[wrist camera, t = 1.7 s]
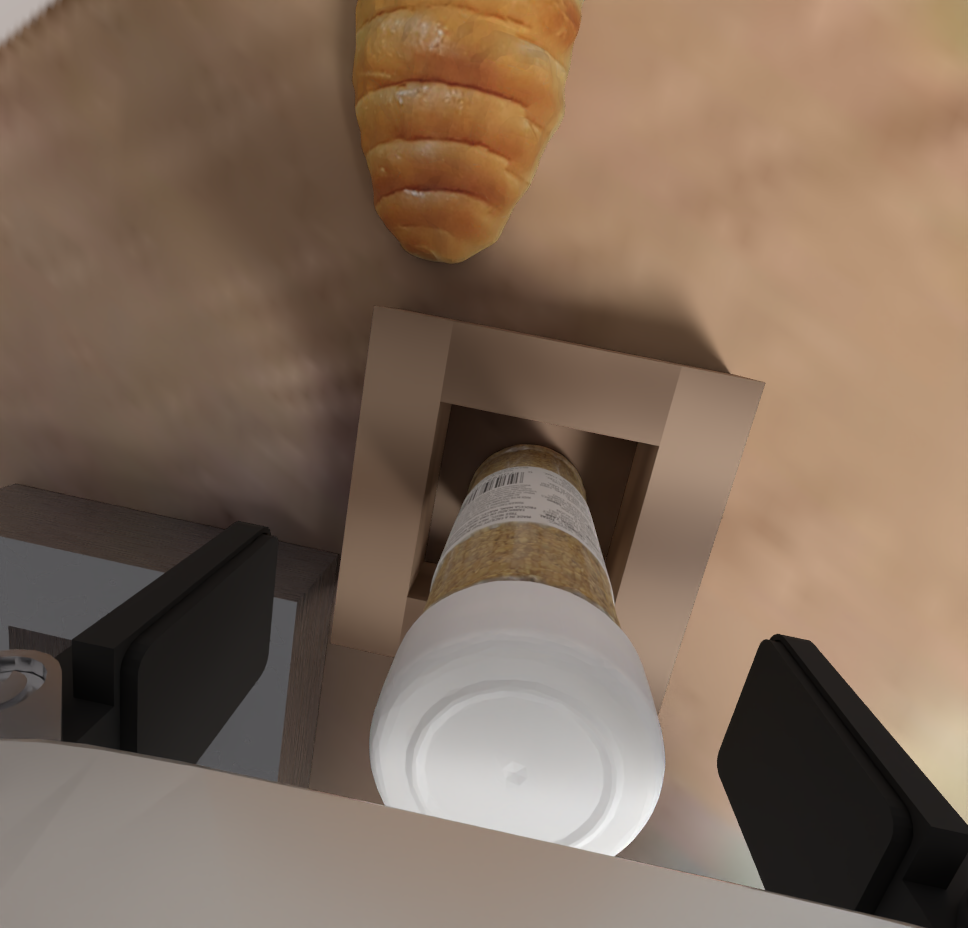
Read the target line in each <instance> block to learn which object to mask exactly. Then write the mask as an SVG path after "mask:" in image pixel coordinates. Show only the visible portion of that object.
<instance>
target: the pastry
mask: <svg viewBox="0 0 968 928" xmlns="http://www.w3.org/2000/svg"><path fill="white" fill-rule="evenodd" d="M583 3H584V0H358V2H357V5H356V51H355V57H354V66H353V76H352V82H353V86H354V89H355V112H356V117H357V121H358V124H359V128H360V132H361V147H362V150H363V153H364V155H365V157H366V160H367V165H368V168H369V171H370V174H371V178H372V185H373V191H374V206H375V209H376V212H377V214H378V215H379V216H380V218H381V219H382V221H383V222H384V224H385V226H386V227H387V228H388V229H389V230H390V232H391V233H392V234H393V235H394V236H395V237H396V238H397V239H398V241H399V242H400V244H401V246H402V248H403V249H404V250H406V251H407V252H408V253H410V254H411V255H413V256H415V257H419V258H422V259H425V260H428V261H434V262H444V263H449V264H453V263H460V262H462V261H464V260H466V259H468V258H470V257H472V256H473V255H475V254H476V253H478V252H480V251H482V250H483V249H485V248H487V247H489V246H491V245H492V244H494V243H495V242H497V240H498V239H499V237H500V235H501V233H502V231H503V229H504V227H505V225H506V223H507V221H508V218H509V217H510V215H511V213H512V211H513V208H514V206H515V205H516V204H517V202H518V201H519V200H520V199H521V197H522V196H523V195H524V194H525V192H526V191H527V190H528V189H529V187H530V185H531V182H532V180H533V178H534V176H535V173H536V171H537V168H538V165H539V161H540V158H541V156H542V154H543V152H544V150H545V148H546V146H547V144H548V142H549V141H550V139H551V138H552V136H553V135H554V133H555V132H556V131H557V129H558V128H559V126H560V124H561V122H562V120H563V117H564V113H565V94H564V87H565V82H566V79H567V76H568V72H569V69H570V64H571V57H572V49H573V45H574V41H575V38H576V36H577V34H578V31H579V27H580V22H581V8H582V5H583Z"/></svg>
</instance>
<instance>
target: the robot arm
mask: <svg viewBox="0 0 968 928" xmlns="http://www.w3.org/2000/svg"><path fill="white" fill-rule="evenodd" d="M277 554H278V538H277V537H275V536H271V532H270V529H269V528H268V527H264V526H259V525H254V524H250V523H245V522H240V521H238V522H236V523H234V524H233V525H231V526H230V527H228V528H227V529H226V530H224V531H223V532H221V533H220V534H219V535H217V536H216V537H214V538H213V539H212V540H210V541H209V542H207V543H206V544H205V545H203V546H202V547H200V548H199V549H198V550H196V551H195V552H193V553H192V554H191V555H189V556H188V557H186V558H185V559H184V560H182V561H181V562H179V563H178V564H177V565H175V566H174V567H172V568H171V569H170V570H168V571H167V572H165V573H164V574H163V575H161V576H160V577H158V578H157V579H156V580H154V581H153V582H151V583H150V584H149V585H147V586H146V587H145V588H143V589H142V590H140V591H139V592H138V593H136V594H135V595H133V596H132V597H131V598H129V599H128V600H126V601H125V602H124V603H122V604H121V605H119V606H118V607H117V608H115V609H114V610H112V611H111V612H110V613H108V614H107V615H105V616H104V617H103V618H101V619H100V620H98V621H97V622H96V623H94V624H93V625H91V626H90V627H89V628H87V629H86V630H84V631H83V632H82V633H80V634H79V635H77V636H76V637H75V638H73V639H72V645H71V646H70V647H68V648H67V649H65V650H64V651H63V652H61V653H60V654H59V655H57V656H56V657H52V656H51V655H50V654H47V653H43V652H40V651H36V650H24V649H13V650H3V651H0V928H968V825H967V824H966V823H965V821H964V820H963V819H962V818H961V817H960V816H959V814H958V813H957V812H956V811H955V810H954V808H953V807H952V806H951V805H950V804H949V803H948V801H947V800H946V799H945V798H944V797H943V796H942V794H941V793H940V792H939V791H938V790H937V788H936V787H935V786H934V785H933V784H932V783H931V781H930V780H929V779H928V778H927V777H926V776H925V774H924V773H923V772H922V771H921V770H920V768H919V767H918V766H917V765H916V764H915V763H914V761H913V760H912V759H911V758H910V757H909V756H908V754H907V753H906V752H905V751H904V750H903V748H902V747H901V746H900V745H899V744H898V743H897V741H896V740H895V739H894V738H893V737H892V736H891V734H890V733H889V732H888V731H887V730H886V728H885V727H884V726H883V725H882V724H881V723H880V721H879V720H878V719H877V718H876V717H875V716H874V714H873V713H872V712H871V711H870V710H869V708H868V707H867V706H866V705H865V704H864V703H863V701H862V700H861V699H860V698H859V697H858V696H857V694H856V693H855V692H854V691H853V690H852V688H851V687H850V686H849V685H848V684H847V683H846V681H845V680H844V679H843V678H842V677H841V676H840V674H839V673H838V672H837V671H836V670H835V668H834V667H833V666H832V665H831V664H830V663H829V661H828V660H827V659H826V658H825V657H824V656H823V654H822V653H821V652H820V651H819V650H818V648H817V647H816V646H815V645H814V644H813V643H812V642H811V641H809V640H804V639H800V638H795V637H790V636H785V635H780V634H776V635H773V636H772V637H771V638H770V640H767V639H766V640H763V641H762V642H761V643H760V645H759V648H758V650H757V653H756V655H755V658H754V661H753V663H752V666H751V669H750V671H749V674H748V676H747V679H746V682H745V684H744V687H743V690H742V692H741V695H740V697H739V700H738V703H737V705H736V708H735V711H734V713H733V716H732V718H731V721H730V724H729V726H728V729H727V732H726V734H725V737H724V739H723V742H722V745H721V747H720V750H719V753H718V758H717V768H718V773H719V777H720V779H721V782H722V784H723V786H724V789H725V791H726V794H727V796H728V799H729V801H730V804H731V806H732V809H733V811H734V814H735V816H736V819H737V821H738V823H739V826H740V828H741V831H742V833H743V836H744V838H745V841H746V843H747V846H748V848H749V851H750V853H751V856H752V858H753V860H754V863H755V865H756V868H757V870H758V873H759V875H760V878H761V880H762V883H763V885H764V888H765V890H761V889H757V888H753V887H748V886H744V885H739V884H735V883H731V882H726V881H722V880H718V879H713V878H709V877H704V876H700V875H695V874H691V873H686V872H682V871H677V870H673V869H668V868H664V867H659V866H655V865H650V864H646V863H641V862H637V861H632V860H628V859H623V858H619V857H614V856H610V855H605V854H600V853H596V852H591V851H587V850H582V849H578V848H573V847H569V846H564V845H560V844H555V843H551V842H546V841H542V840H537V839H533V838H528V837H524V836H519V835H515V834H510V833H506V832H501V831H497V830H493V829H488V828H484V827H479V826H475V825H470V824H466V823H461V822H457V821H452V820H448V819H443V818H439V817H434V816H430V815H425V814H421V813H416V812H412V811H407V810H403V809H398V808H394V807H389V806H385V805H380V804H376V803H371V802H367V801H362V800H358V799H353V798H349V797H344V796H339V795H335V794H330V793H326V792H321V791H316V790H312V789H307V788H302V787H298V786H293V785H289V784H284V783H279V782H275V781H270V780H265V779H261V778H256V777H252V776H247V775H242V774H238V773H233V772H228V771H224V770H219V769H215V768H210V767H205V766H201V765H196V763H197V762H198V760H199V759H200V758H201V756H202V755H203V754H204V752H205V751H206V750H207V748H208V747H209V746H210V744H211V743H212V741H213V740H214V739H215V737H216V736H217V735H218V733H219V732H220V731H221V729H222V728H223V727H224V725H225V724H226V723H227V721H228V720H229V718H230V717H231V716H232V714H233V713H234V712H235V710H236V709H237V708H238V706H239V705H240V704H241V702H242V701H243V700H244V698H245V697H246V695H247V694H248V693H249V691H250V690H251V689H252V687H253V686H254V685H255V683H256V682H257V681H258V679H259V678H260V677H261V675H262V673H263V671H264V669H265V667H266V664H267V661H268V655H269V645H270V634H271V622H272V611H273V600H274V588H275V577H276V566H277Z"/></svg>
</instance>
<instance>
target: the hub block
mask: <svg viewBox="0 0 968 928" xmlns="http://www.w3.org/2000/svg"><path fill="white" fill-rule="evenodd" d="M224 530H225V529H220V528H216V527H211V526H206V525H202V524H197V523H193V522H188V521H184V520H179V519H174V518H170V517H165V516H161V515H156V514H151V513H147V512H142V511H138V510H133V509H128V508H124V507H119V506H115V505H110V504H105V503H101V502H96V501H92V500H87V499H82V498H78V497H73V496H69V495H64V494H60V493H55V492H50V491H46V490H41V489H37V488H32V487H27V486H23V485H18V484H13V485H10V486H7V487H3V488H0V651H3V650H13V649H24V650H36V651H40V652H43V653H47V654H50V655H51V656H52V657H56V656H57V655H59V654H60V653H61V652H63V651H64V650H65V649H67V648H68V647H70V646H71V645H72V639H73V638H75V637H76V636H77V635H79V634H80V633H82V632H83V631H84V630H86V629H87V628H89V627H90V626H91V625H93V624H94V623H96V622H97V621H98V620H100V619H101V618H103V617H104V616H105V615H107V614H108V613H110V612H111V611H112V610H114V609H115V608H117V607H118V606H119V605H121V604H122V603H124V602H125V601H126V600H128V599H129V598H131V597H132V596H133V595H135V594H136V593H138V592H139V591H140V590H142V589H143V588H145V587H146V586H147V585H149V584H150V583H151V582H153V581H154V580H156V579H157V578H158V577H160V576H161V575H163V574H164V573H165V572H167V571H168V570H170V569H171V568H172V567H174V566H175V565H177V564H178V563H179V562H181V561H182V560H184V559H185V558H186V557H188V556H189V555H191V554H192V553H193V552H195V551H196V550H198V549H199V548H200V547H202V546H203V545H205V544H206V543H207V542H209V541H210V540H212V539H213V538H214V537H216V536H217V535H219V534H220V533H221V532H223V531H224ZM338 555H339V554H335V553H330V552H326V551H321V550H317V549H312V548H308V547H303V546H298V545H294V544H289V543H285V542H280V541H278V554H277V566H276V577H275V588H274V600H273V611H272V622H271V634H270V645H269V655H268V661H267V664H266V667H265V669H264V671H263V673H262V675H261V677H260V678H259V679H258V681H257V682H256V683H255V685H254V686H253V687H252V689H251V690H250V691H249V693H248V694H247V695H246V697H245V698H244V700H243V701H242V702H241V704H240V705H239V706H238V708H237V709H236V710H235V712H234V713H233V714H232V716H231V717H230V718H229V720H228V721H227V723H226V724H225V725H224V727H223V728H222V729H221V731H220V732H219V733H218V735H217V736H216V737H215V739H214V740H213V741H212V743H211V744H210V746H209V747H208V748H207V750H206V751H205V752H204V754H203V755H202V756H201V758H200V759H199V760H198V762H197V763H196V765H201V766H205V767H210V768H215V769H219V770H224V771H228V772H233V773H238V774H242V775H247V776H252V777H256V778H261V779H265V780H270V781H275V782H279V783H284V784H289V785H293V786H298V787H302V788H307V789H308V788H309V780H310V772H311V764H312V757H313V749H314V741H315V733H316V726H317V718H318V710H319V702H320V695H321V687H322V679H323V671H324V664H325V656H326V648H327V640H328V633H329V625H330V617H331V609H332V602H333V594H334V586H335V578H336V571H337V563H338Z"/></svg>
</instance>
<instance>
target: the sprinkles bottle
mask: <svg viewBox="0 0 968 928" xmlns="http://www.w3.org/2000/svg"><path fill="white" fill-rule="evenodd" d="M369 754H370V763H371V770H372V773H373V777H374V780H375V783H376V787H377V790H378V792H379V794H380V796H381V798H382V801H383V802H384V804H385V806H389V807H394V808H398V809H403V810H407V811H412V812H416V813H421V814H425V815H430V816H434V817H439V818H443V819H448V820H452V821H457V822H461V823H466V824H470V825H475V826H479V827H484V828H488V829H493V830H497V831H501V832H506V833H510V834H515V835H519V836H524V837H528V838H533V839H537V840H542V841H546V842H551V843H555V844H560V845H564V846H569V847H573V848H578V849H582V850H587V851H591V852H596V853H600V854H605V855H610V856H615V855H616V854H618V853H619V852H620V851H622V850H623V849H624V848H625V847H627V846H628V845H629V844H630V843H631V842H632V841H633V840H634V838H635V837H636V836H637V835H638V834H639V832H640V831H641V830H642V829H643V827H644V826H645V825H646V823H647V821H648V820H649V818H650V816H651V814H652V813H653V811H654V808H655V806H656V804H657V801H658V799H659V796H660V792H661V788H662V784H663V778H664V772H665V750H664V742H663V736H662V730H661V727H660V723H659V719H658V716H657V712H656V708H655V705H654V701H653V697H652V694H651V691H650V687H649V684H648V681H647V678H646V675H645V672H644V669H643V665H642V663H641V660H640V658H639V656H638V654H637V652H636V650H635V648H634V646H633V645H632V643H631V642H630V640H629V638H628V637H627V636H626V634H625V633H624V632H623V631H622V629H621V627H620V623H619V620H618V618H617V615H616V610H615V604H614V596H613V591H612V587H611V583H610V579H609V576H608V573H607V569H606V566H605V563H604V559H603V556H602V553H601V549H600V546H599V542H598V538H597V535H596V531H595V527H594V524H593V520H592V517H591V513H590V511H589V508H588V506H587V503H586V492H585V489H584V486H583V483H582V479H581V477H580V475H579V473H578V472H577V470H576V468H575V467H574V466H573V465H572V464H571V463H570V462H569V461H568V460H567V459H566V458H565V457H564V456H563V455H561V454H559V453H557V452H555V451H554V450H552V449H549V448H546V447H543V446H539V445H530V444H518V445H514V446H512V447H507V448H504V449H502V450H501V451H499V452H496V453H494V454H492V455H491V456H490V457H488V458H487V459H486V460H485V461H484V462H483V463H482V464H481V465H480V467H479V468H478V469H477V470H476V472H475V474H474V476H473V479H472V481H471V483H470V485H469V488H468V495H467V497H466V499H465V500H464V502H463V504H462V506H461V509H460V511H459V514H458V516H457V518H456V520H455V523H454V525H453V528H452V530H451V533H450V535H449V537H448V540H447V543H446V545H445V548H444V550H443V552H442V555H441V557H440V560H439V562H438V565H437V567H436V570H435V573H434V575H433V579H432V583H431V588H430V594H429V597H428V600H427V602H426V605H425V608H424V611H423V613H422V614H421V616H420V617H419V618H418V619H417V620H416V621H415V623H414V624H413V625H412V626H411V628H410V629H409V630H408V632H407V633H406V635H405V637H404V639H403V641H402V643H401V644H400V646H399V648H398V650H397V652H396V655H395V657H394V660H393V662H392V665H391V667H390V670H389V672H388V675H387V677H386V680H385V682H384V685H383V687H382V690H381V693H380V696H379V699H378V702H377V705H376V708H375V711H374V714H373V719H372V723H371V728H370V738H369Z"/></svg>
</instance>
